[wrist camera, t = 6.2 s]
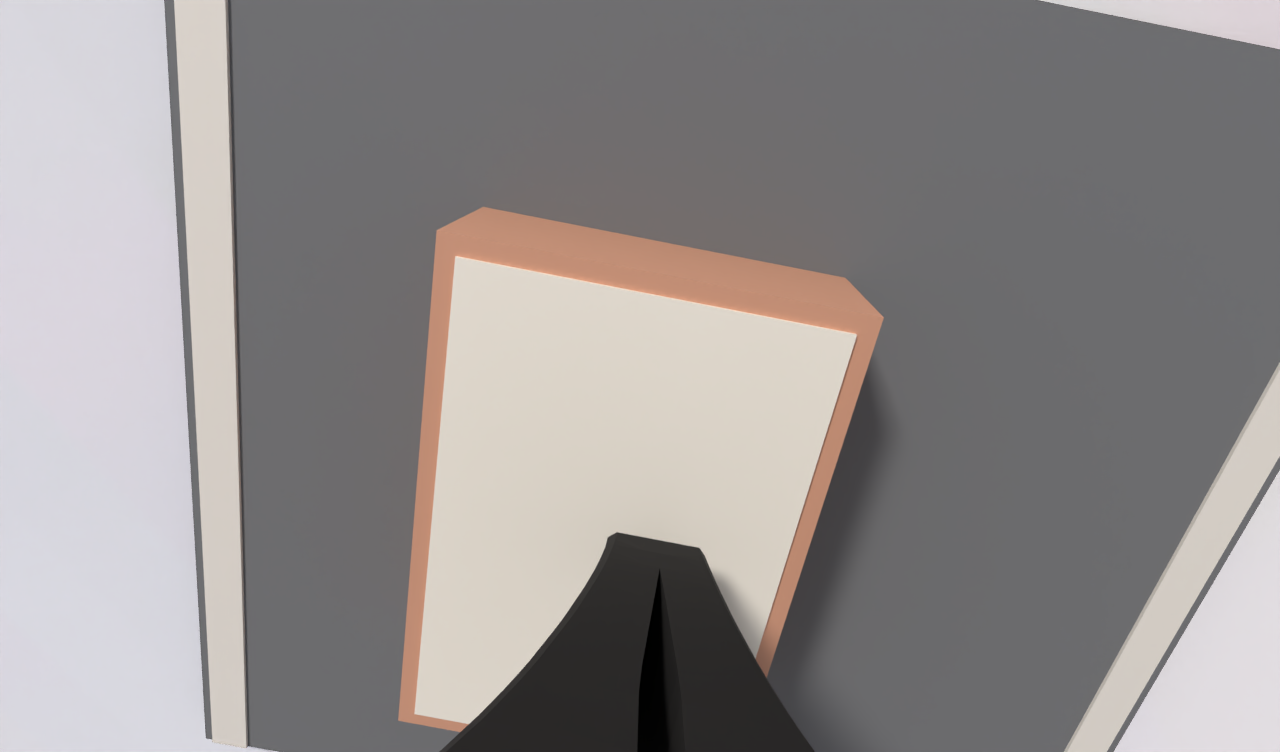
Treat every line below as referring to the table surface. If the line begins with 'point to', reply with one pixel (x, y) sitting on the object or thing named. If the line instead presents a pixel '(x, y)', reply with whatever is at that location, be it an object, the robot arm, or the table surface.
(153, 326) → the table surface
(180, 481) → the table surface
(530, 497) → the card box
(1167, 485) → the mat
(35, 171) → the table surface
